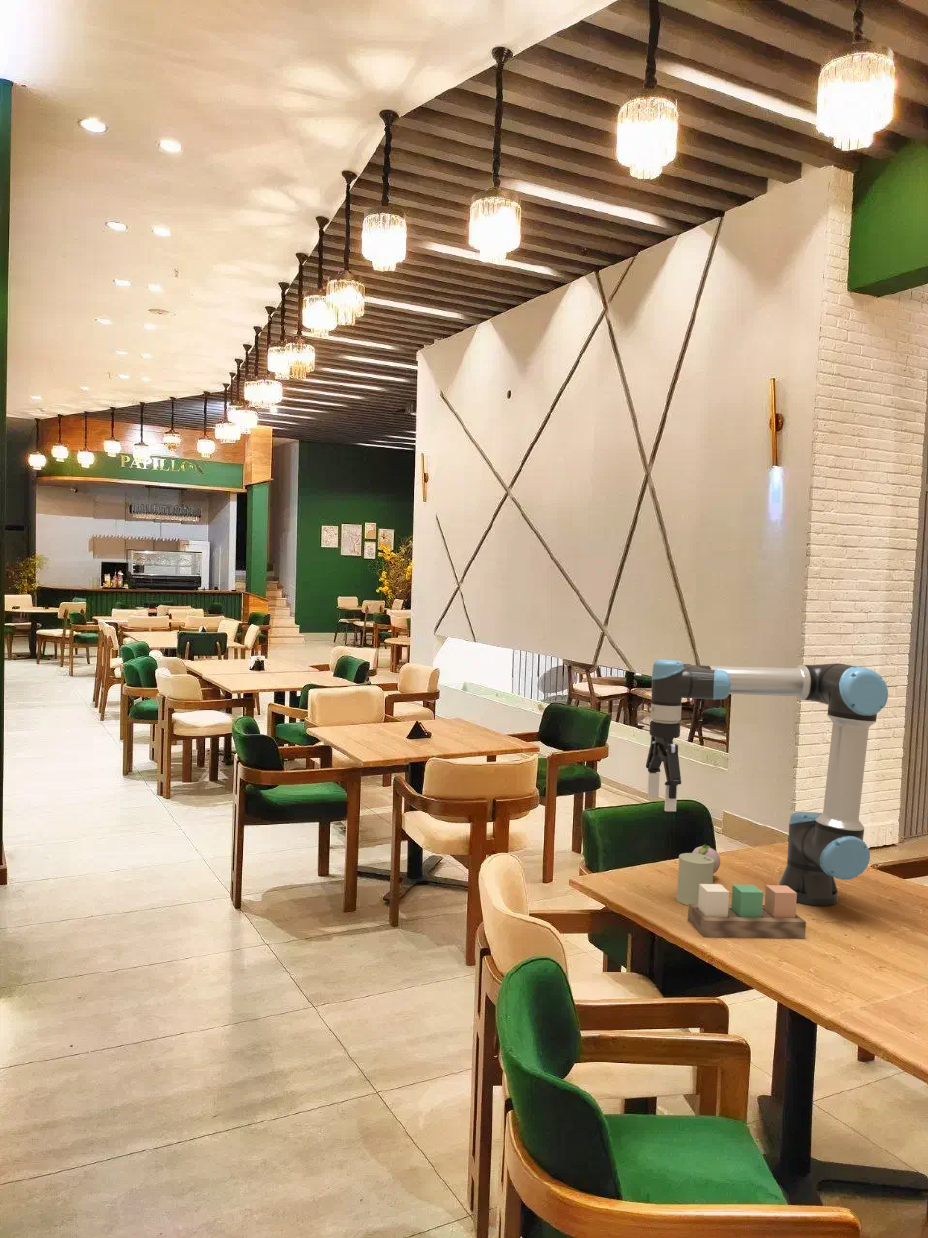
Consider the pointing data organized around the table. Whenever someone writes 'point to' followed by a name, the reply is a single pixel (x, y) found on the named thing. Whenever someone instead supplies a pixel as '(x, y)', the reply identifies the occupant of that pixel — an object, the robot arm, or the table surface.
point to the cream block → (713, 900)
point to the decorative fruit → (711, 853)
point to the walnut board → (746, 925)
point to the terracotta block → (780, 901)
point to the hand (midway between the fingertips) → (661, 804)
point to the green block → (747, 901)
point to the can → (693, 876)
